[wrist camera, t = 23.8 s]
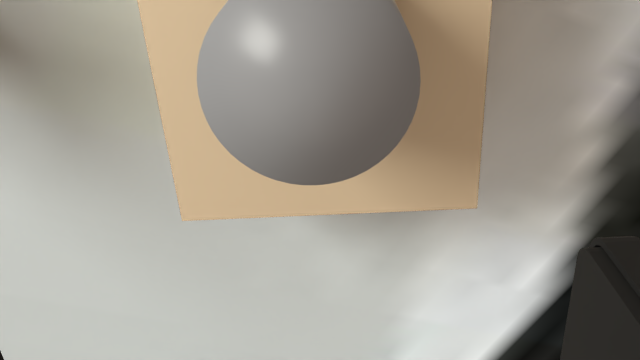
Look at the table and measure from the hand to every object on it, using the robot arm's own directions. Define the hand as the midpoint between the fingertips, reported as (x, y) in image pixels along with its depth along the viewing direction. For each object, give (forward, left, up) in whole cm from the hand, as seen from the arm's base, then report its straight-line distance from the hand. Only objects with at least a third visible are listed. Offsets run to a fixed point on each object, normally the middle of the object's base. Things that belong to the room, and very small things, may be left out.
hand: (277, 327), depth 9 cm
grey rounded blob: (+1, 0, -15) cm, 15 cm away
